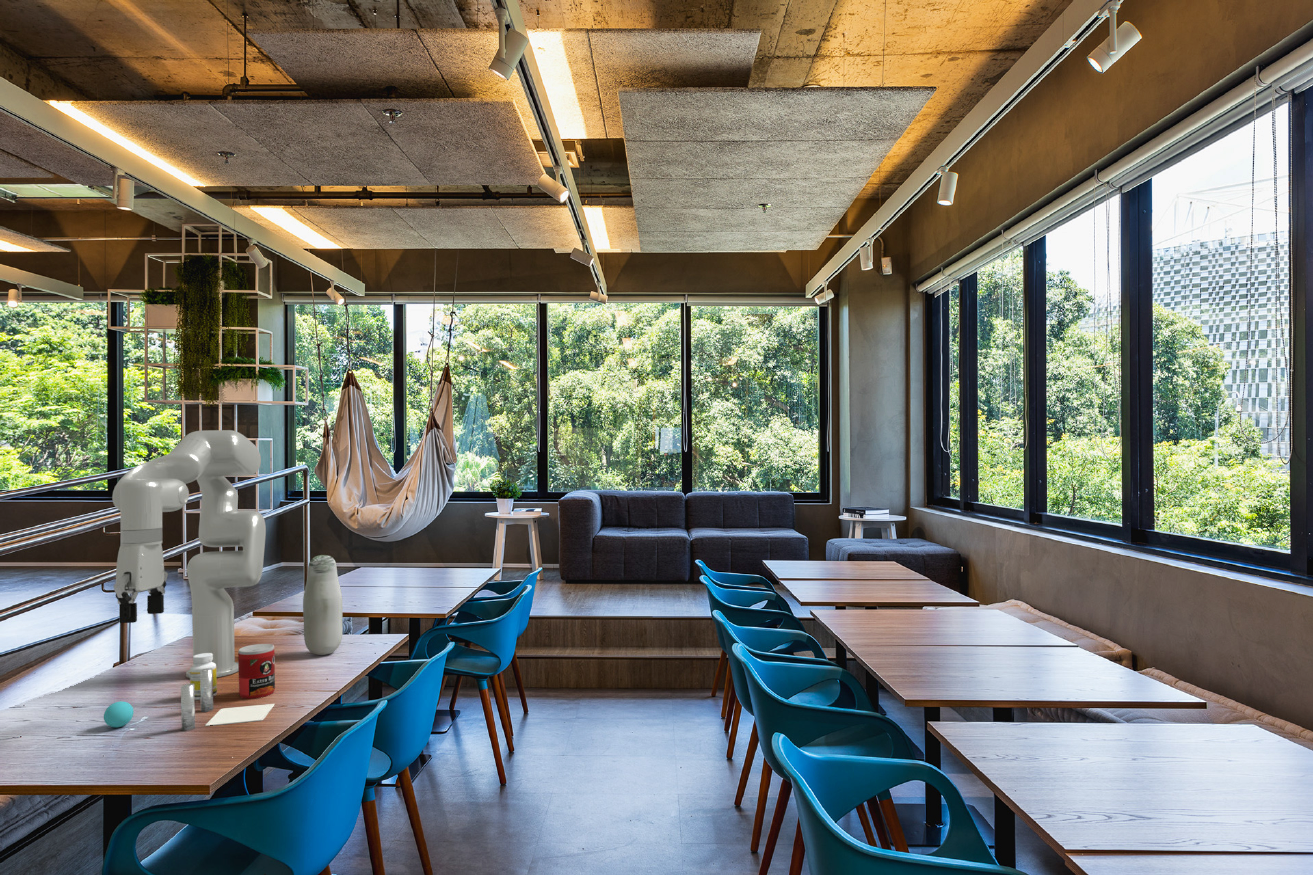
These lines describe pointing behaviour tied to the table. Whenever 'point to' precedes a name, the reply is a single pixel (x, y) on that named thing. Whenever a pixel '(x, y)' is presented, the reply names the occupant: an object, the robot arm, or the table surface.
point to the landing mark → (240, 714)
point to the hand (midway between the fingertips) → (142, 617)
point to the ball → (118, 714)
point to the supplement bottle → (199, 663)
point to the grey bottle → (322, 606)
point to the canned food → (256, 671)
